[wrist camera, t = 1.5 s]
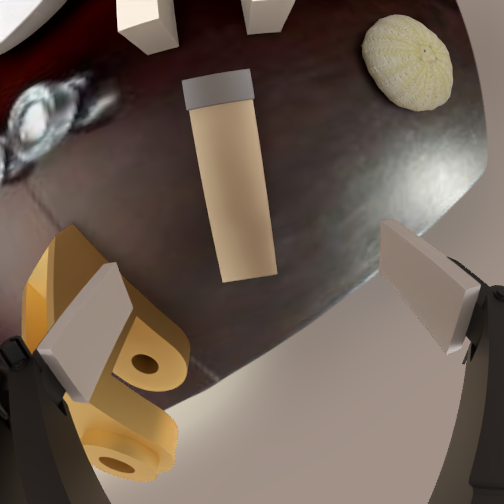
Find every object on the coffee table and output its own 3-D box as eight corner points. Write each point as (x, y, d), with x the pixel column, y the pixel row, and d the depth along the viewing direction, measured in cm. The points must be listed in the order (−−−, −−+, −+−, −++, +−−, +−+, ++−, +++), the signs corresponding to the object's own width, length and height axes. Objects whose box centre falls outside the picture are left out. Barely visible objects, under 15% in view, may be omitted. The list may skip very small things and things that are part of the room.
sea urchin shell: (387, 126, 20) (401, 43, 13) (345, 76, 23) (346, 6, 16) (460, 117, 19) (483, 51, 12) (416, 71, 23) (426, 11, 15)
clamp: (207, 349, 31) (196, 478, 16) (157, 380, 33) (134, 489, 18) (72, 223, 24) (-36, 310, 10) (38, 275, 26) (-43, 362, 12)
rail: (224, 250, 26) (221, 285, 21) (195, 93, 21) (181, 80, 15) (269, 243, 26) (279, 276, 21) (246, 85, 21) (249, 68, 15)
